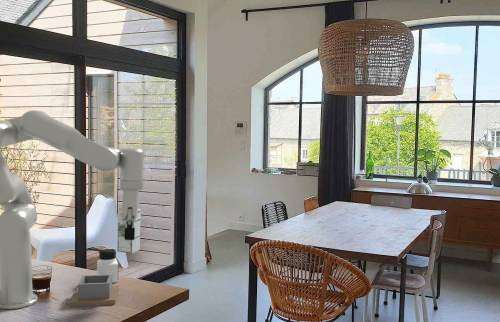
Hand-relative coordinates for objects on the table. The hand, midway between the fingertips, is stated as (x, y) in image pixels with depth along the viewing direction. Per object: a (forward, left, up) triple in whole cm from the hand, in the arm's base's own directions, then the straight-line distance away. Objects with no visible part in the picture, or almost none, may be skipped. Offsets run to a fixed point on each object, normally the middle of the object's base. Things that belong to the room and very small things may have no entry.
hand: (130, 236), depth 168 cm
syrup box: (-1, 0, -5) cm, 5 cm away
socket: (-11, +1, -21) cm, 24 cm away
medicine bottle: (-9, +20, -21) cm, 31 cm away
